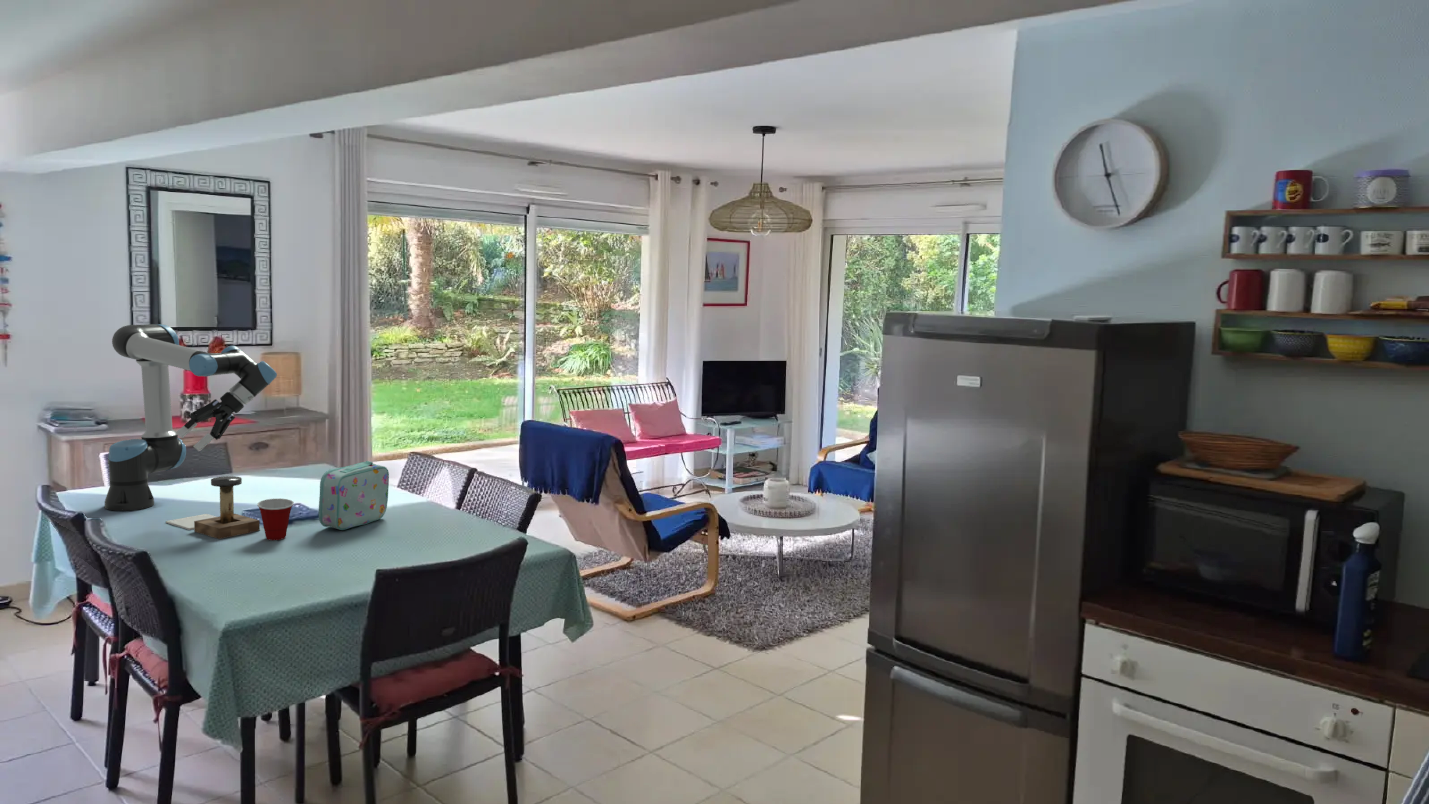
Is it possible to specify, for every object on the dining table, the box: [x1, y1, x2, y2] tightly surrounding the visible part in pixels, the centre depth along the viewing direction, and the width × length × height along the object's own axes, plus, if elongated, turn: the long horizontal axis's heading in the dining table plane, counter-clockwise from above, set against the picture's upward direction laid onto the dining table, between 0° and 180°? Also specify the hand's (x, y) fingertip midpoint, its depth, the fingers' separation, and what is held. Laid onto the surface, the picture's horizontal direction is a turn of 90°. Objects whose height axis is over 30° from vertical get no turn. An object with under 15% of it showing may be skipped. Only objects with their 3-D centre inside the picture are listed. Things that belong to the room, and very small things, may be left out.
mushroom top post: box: [210, 475, 243, 524], centre depth 316 cm, size 9×9×18 cm
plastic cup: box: [256, 498, 294, 541], centre depth 310 cm, size 11×11×12 cm
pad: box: [165, 513, 217, 531], centre depth 325 cm, size 14×14×1 cm
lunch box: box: [317, 460, 390, 531], centre depth 332 cm, size 27×10×21 cm, turn 160°
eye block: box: [193, 513, 261, 540], centre depth 316 cm, size 14×14×4 cm
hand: (187, 442), depth 326 cm, fingers open, 13 cm apart
